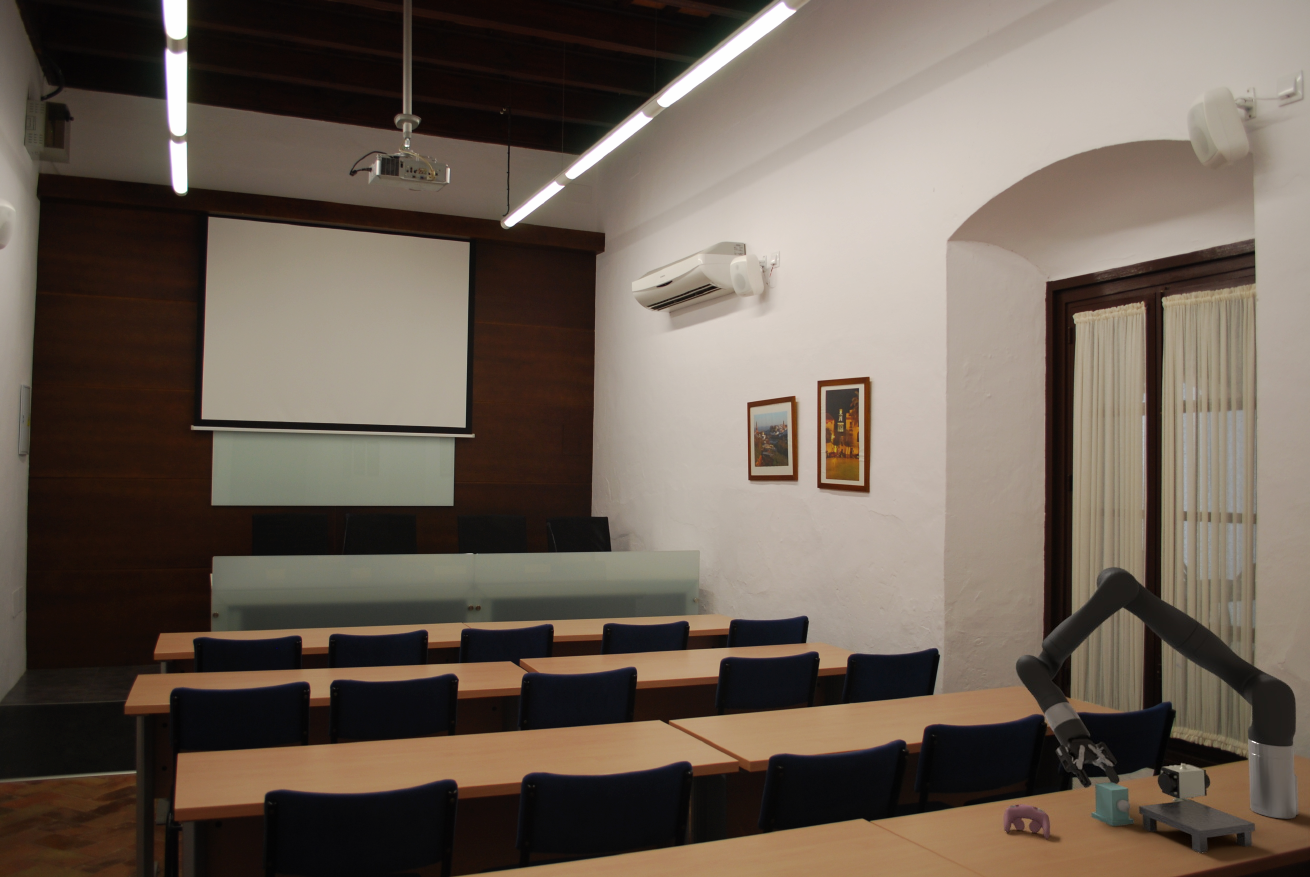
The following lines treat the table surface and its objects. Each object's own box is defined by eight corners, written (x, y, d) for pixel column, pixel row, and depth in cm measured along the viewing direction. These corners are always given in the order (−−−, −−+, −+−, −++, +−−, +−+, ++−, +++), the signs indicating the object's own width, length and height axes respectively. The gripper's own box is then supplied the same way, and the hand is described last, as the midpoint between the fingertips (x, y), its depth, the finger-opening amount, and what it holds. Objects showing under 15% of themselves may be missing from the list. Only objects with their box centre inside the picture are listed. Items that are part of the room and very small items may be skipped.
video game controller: (1050, 841, 201) (1050, 809, 205) (1050, 838, 198) (1049, 805, 201) (1004, 834, 205) (1004, 803, 209) (1002, 831, 202) (1003, 799, 205)
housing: (1112, 814, 215) (1111, 780, 216) (1136, 824, 208) (1136, 790, 209) (1091, 816, 213) (1090, 783, 214) (1115, 827, 206) (1114, 792, 207)
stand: (1191, 821, 211) (1191, 799, 211) (1255, 846, 196) (1254, 823, 196) (1139, 828, 206) (1139, 806, 207) (1200, 854, 191) (1200, 830, 191)
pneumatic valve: (1212, 814, 216) (1210, 764, 216) (1173, 819, 212) (1172, 768, 213) (1192, 807, 221) (1191, 758, 222) (1154, 811, 218) (1153, 761, 219)
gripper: (1051, 718, 222) (1087, 779, 210) (1096, 715, 226) (1134, 774, 214) (1036, 734, 226) (1071, 795, 215) (1081, 731, 231) (1117, 789, 219)
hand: (1102, 784), depth 214 cm, fingers open, 8 cm apart
